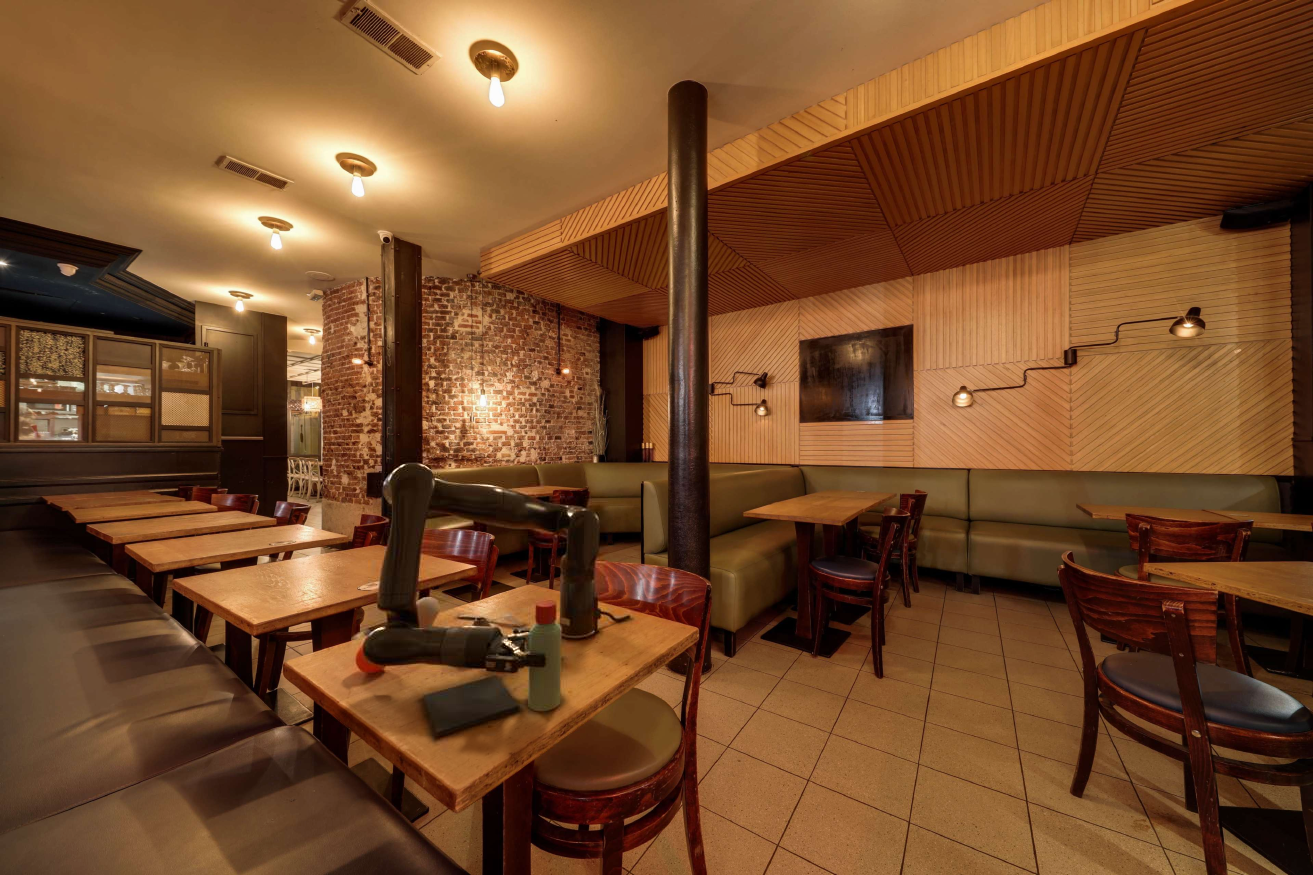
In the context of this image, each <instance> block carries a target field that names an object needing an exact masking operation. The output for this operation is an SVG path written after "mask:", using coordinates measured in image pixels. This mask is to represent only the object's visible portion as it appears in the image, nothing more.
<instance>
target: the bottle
mask: <svg viewBox="0 0 1313 875" xmlns="http://www.w3.org/2000/svg"><path fill="white" fill-rule="evenodd" d="M559 624H560V623H558V622H557V620H556V621H555V622H553V623H550V624H539V623H536V622H535V623H534V624H533V625H532V626H531V627H530V628H531V629H530V638H529V651H528V653H540V654H546V665H545V667H528V699H527V700H528V703H527V704H528V708H529V709H530V710H532V711H535V712H547V711H551V710H553V709H556V708H557V707H558V706H559V705H560V704H561V690H562V688H561V680H562V636H561V629H562V628H561V626H560V625H559Z"/></svg>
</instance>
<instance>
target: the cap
mask: <svg viewBox="0 0 1313 875" xmlns="http://www.w3.org/2000/svg"><path fill="white" fill-rule="evenodd" d="M534 615H535V618H534V620H535V623H539V624H550V623H553V622H555V621H556V622H557V601H555V600H551V599H544V600H540V601H537V602H536V603H535V614H534Z"/></svg>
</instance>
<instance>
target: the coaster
mask: <svg viewBox="0 0 1313 875" xmlns="http://www.w3.org/2000/svg"><path fill="white" fill-rule="evenodd" d="M422 701H423V704H424V707H425V710H426V712H427V715H428V718H429V721H430V723H431V726H432V729H433V731H434V734H435V736H436V738H437V739H438V738H441V737H444V736H447V735H450V734H453V733H456V732H459V731H463V730H465V729H468V728H471V727H473V726H474V727H475V726H478V725H480V724H484V723H486V722H489V721H492V720H496V719H498V718H501V717H504V716H507V715H510V714H514V713H516V712H519V711H520V706H519V704H518V703H517V701H516V700H515V698H514V697H513V695H512V694H511V693H510V691H509V690H508V689H507V687H506V686H505V684H504V683H503V682H502V681H501V679H500V678H499V677H498V675H497V674H495V675H491V676H488V677H484V678H481V679H477V680H474V681H470V682H466V683H463V684H459V685H456V686H452V687H448V688H445V689H441V690H437V691H433V692H430V693H427V694H423V695H422Z"/></svg>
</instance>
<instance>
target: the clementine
mask: <svg viewBox="0 0 1313 875" xmlns="http://www.w3.org/2000/svg"><path fill="white" fill-rule="evenodd" d="M355 665H356V667H357V669H359V670H360V671H361V672H362V673H365V674H375V673H379V672H381V671H383V669H384V668H387V666H377V665H374V664H371V663H370V662H368V661H367V660H366V658H365V657H364V655H363V644H361V645H360V647H359V648H358V650H357V652H356V655H355Z"/></svg>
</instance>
